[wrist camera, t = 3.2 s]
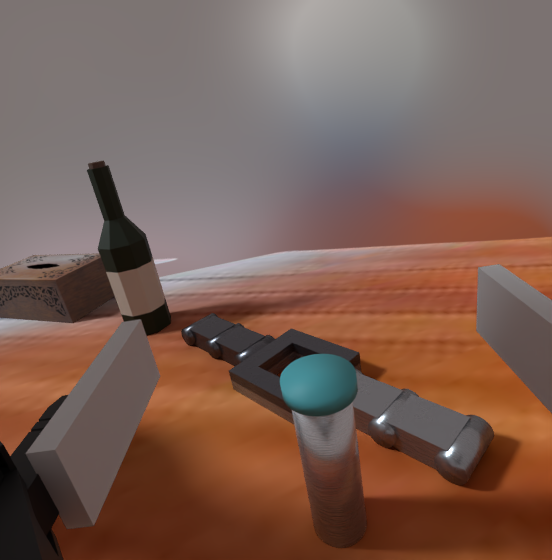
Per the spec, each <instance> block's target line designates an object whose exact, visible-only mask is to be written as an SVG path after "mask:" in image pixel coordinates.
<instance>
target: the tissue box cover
mask: <svg viewBox="0 0 552 560" xmlns="http://www.w3.org/2000/svg"><path fill="white" fill-rule="evenodd" d="M113 297H115V295H114V293H113V290H112V287H111V284H110V281H109V279H108V276H107V273H106V270H105V268H104V265H103V262H102V259H101V256H100V254H67V255H66V254H65V255H33V256H31V257H28V258H26V259H23V260H21V261H18V262H16V263H14V264H11V265H9V266H7V267H4V268H2V269H0V318H12V319H25V320H38V321H52V322H65V323H74V322H75V321H77V320H79V319H80V318H82V317H83V316H85V315H86V314H88V313H90V312H91V311H93V310H94V309H96V308H97V307H99V306H101V305H102V304H104V303H105V302H107V301H108V300H110V299H112V298H113Z"/></svg>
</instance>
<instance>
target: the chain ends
mask: <svg viewBox="0 0 552 560" xmlns="http://www.w3.org/2000/svg"><path fill="white" fill-rule="evenodd" d="M181 333H182V337H183V339H184V341H185V342H186V343H187V344H188V345H190V346H191V345H195V346H197V347H199V348H201V349H203V350H205V351H206V352H208V353H209V354H210V355H211V356H212V357H213V358H214V359H217V358H220V359H222V360H224V361H226V362H228V363H230V364H232V365H234V366H235V367H234V368H232V369H231V370H229V373H230V377H231V381H232V385H233V389H234V390H236V391H237V392H239V393H241V394H243V395H244V396H246V397H248V398H249V399H251V400H253V401H255V402H256V403H258V404H260V405H261V406H263V407H265V408H267V409H268V410H270V411H272V412H274V413H275V414H277V415H279V416H280V417H282V418H284V419H286V420H287V421H289V422H291V423H292V424H294V420H293V415H292V410H291V409H290V408H289V407H288V406H287V405H286V404H285V402H284V400H283V396H282V391H281V386H280V377H278V376H276V375H277V374H278V373H279V372H281V371H282V370H283V369H285V368H286V367H287V366H288V365H289V364H290V363H292V362H293V361H295V360H297V359H299V358H302V357H305V356H308V355H313V354H332V355H337V356H340V357H342V358H344V359H346V360H348V361H349V362H350V363H351V364H352V365H353V366H354V368H355V370H356V376H357V386H358V392H357V395H356V398H355V399H354V401H353V407H354V416H355V425H356V429H358V430H360V431H362V432H364V433H366V434H368V435H370V436H371V437H372V439H373V440H374V441H375V442H376V443H378V444H379V445H381V446H383V447H386V448H391V447H393V448H395V449H397V450H399V451H401V452H403V453H405V454H407V455H409V456H411V457H413V458H415V459H416V460H418V461H420V462H422V463H424V464H426V465H428V466H430V467H432V468H434V469H436V470H437V471H438V472H439V473H440V475H441V476H443V477H444V478H445V479H446V480H448V481H449V482H451V483H454V484H457V485H463V484H466V483H467V481H468V479H469V478H470V476H471V474H472V473H473V471H474V469H475V468H476V466H477V464H478V463H479V461H480V459H481V458H482V456H483V454H484V453H485V451H486V449H487V448H488V446H489V444H490V443H491V441H492V439H493V437H494V431H493V429H492V427H491V426H490V425H489V424H488V422H486V421H485V420H484V419H482V418H480V417H478V416H475V415H463V414H461V413H458V412H456V411H453V410H451V409H448V408H446V407H443V406H441V405H438V404H436V403H433V402H430V401H428V400H425V399H423V398H420V397H419V396H418V395H417V394H416V393H415V392H413V391H411V390H409V389H401V390H400V389H398V388H395V387H393V386H390V385H388V384H385V383H382V382H380V381H377V380H375V379H372V378H370V377H367V376H365V375H363V374H362V373H361V364H360V354H359V352H356V351H353V350H350V349H348V348H345V347H342V346H339V345H336V344H333V343H331V342H328V341H325V340H322V339H319V338H316V337H314V336H311V335H308V334H305V333H302V332H299V331H297V330H294V329H290V330H288V331H287V332H285V333H284V334H283V335H281V336H280V337H278V338H277V339H274V338H273V337H272V336H270V335H266V336H264V335H261V334H259V333H256V332H254V331H251V330H249V329H246V328H244V326H243V325H241V324H239V323H237V324H234V323H231V322H228V321H226V320H223V319H221V318H218V316H217V315H216V314H214V313H212V314H210V315H208V316H206V317H204V318H202V319H201V320H199V321H197V322H195V323H193V324H191V325H190V326H188V327H186V328H184V329H182V331H181Z"/></svg>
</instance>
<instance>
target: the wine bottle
mask: <svg viewBox="0 0 552 560" xmlns="http://www.w3.org/2000/svg"><path fill="white" fill-rule="evenodd" d="M88 166H89V168H90V169H88V170H87V172H88V175H89V178H90V180H91V183H92V186H93V189H94V192H95V195H96V198H97V201H98V204H99V207H100V209H101V212H102V215H103V218H104V225H103V229H102V233H101V237H100V242H99V246H98V251H99V254H100V256H101V259H102V262H103V265H104V268H105V270H106V273H107V276H108V279H109V281H110V284H111V287H112V290H113V293H114V295H115V298H116V301H117V304H118V306H119V309H120V312H121V315H122V317H123V320H124V322H126V321H132V320H139V319H141V321H142V324H143V327H144V330H145V333H146V335H149V334H153V333H157V332H159V331H161V330H162V329H163V328H165V327H166V326H168V325H169V324H170V323H171V316H170V312H169V309H168V306H167V303H166V299H165V296H164V293H163V290H162V286H161V283H160V280H159V277H158V273H157V270H156V267H155V264H154V260H153V257H152V254H151V251H150V248H149V244H148V241H147V238H146V234H145V233H144V232H143V231H141V230H140V229H139V228H138V227H137V226H136V225H135V224H134V223H132V222H131V221H130V220H129V219H128V218H127V217H126V216H125V215H124V212H123V209H122V206H121V203H120V200H119V197H118V193H117V190H116V187H115V184H114V181H113V178H112V175H111V172H110V169H109V166H108V165H107V166H105V162H104V161H99V162H93V163H89V164H88Z"/></svg>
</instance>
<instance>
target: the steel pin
mask: <svg viewBox="0 0 552 560" xmlns="http://www.w3.org/2000/svg"><path fill="white" fill-rule="evenodd" d="M280 386H281V391H282V396H283V400H284V402H285V404H286V405H287V406H288V407H289V408H290V409H291V410H292V415H293V420H294V425H295V430H296V435H297V440H298V446H299V451H300V456H301V461H302V466H303V472H304V477H305V482H306V487H307V492H308V498H309V503H310V508H311V513H312V518H313V524H314V528H315V531H316V533H317V535H318V536H319V538H320V539H321V540H322V541H323V542H325V543H326V544H328V545H330V546H333V547H338V548H344V547H349V546H352V545H354V544H355V543H357V542H358V541H359V540H360V539H361V538H362V537H363V535H364V533H365V531H366V526H367V520H366V511H365V502H364V494H363V485H362V476H361V468H360V459H359V450H358V442H357V433H356V425H355V416H354V407H353V401H354V399H355V398H356V395H357V392H358V386H357V376H356V370H355V368H354V366H353V365H352V364H351V363H350V362H349V361H348V360H346V359H344V358H342V357H340V356H337V355H332V354H313V355H308V356H305V357H302V358H299V359H297V360H295V361H293V362H292V363H290V364H289V365H288V366H287V367H286V368H285V369H284V370H283V372H282V374H281V376H280Z"/></svg>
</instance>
